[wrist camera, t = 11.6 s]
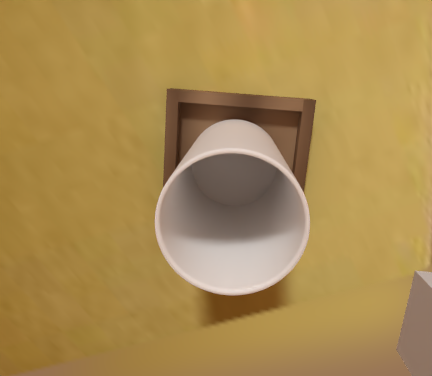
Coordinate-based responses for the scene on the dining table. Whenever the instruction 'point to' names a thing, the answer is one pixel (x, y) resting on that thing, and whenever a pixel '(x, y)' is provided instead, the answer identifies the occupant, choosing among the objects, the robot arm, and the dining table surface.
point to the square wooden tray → (243, 110)
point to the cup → (232, 212)
